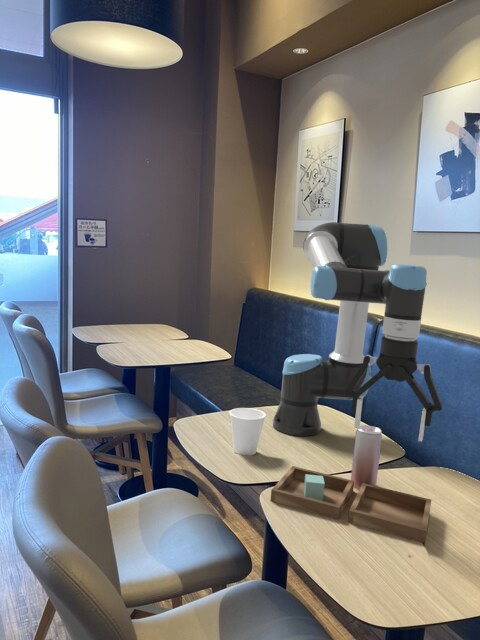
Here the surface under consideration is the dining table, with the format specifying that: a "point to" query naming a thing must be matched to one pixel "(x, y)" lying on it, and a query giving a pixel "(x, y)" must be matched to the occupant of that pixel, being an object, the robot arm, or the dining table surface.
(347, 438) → the dining table surface
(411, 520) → the tray
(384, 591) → the dining table surface
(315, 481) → the teal block
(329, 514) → the tray
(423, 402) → the robot arm
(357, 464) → the beverage can
